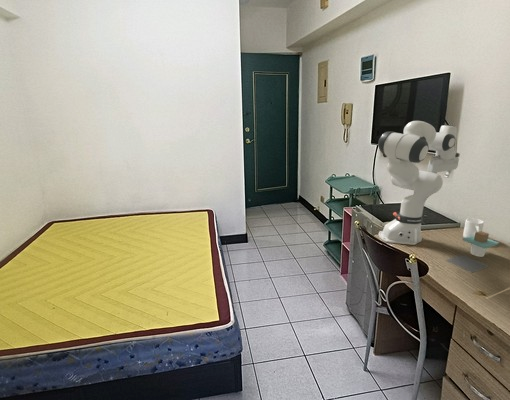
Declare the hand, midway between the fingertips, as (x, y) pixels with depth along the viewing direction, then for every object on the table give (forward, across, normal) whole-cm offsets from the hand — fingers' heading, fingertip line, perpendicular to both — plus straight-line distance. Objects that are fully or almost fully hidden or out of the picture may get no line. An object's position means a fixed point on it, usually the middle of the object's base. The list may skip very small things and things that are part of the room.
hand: (440, 178), depth 185 cm
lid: (+24, -9, -33) cm, 41 cm away
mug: (+31, +7, -20) cm, 38 cm away
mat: (+30, -23, -37) cm, 53 cm away
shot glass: (+31, -9, -33) cm, 46 cm away
